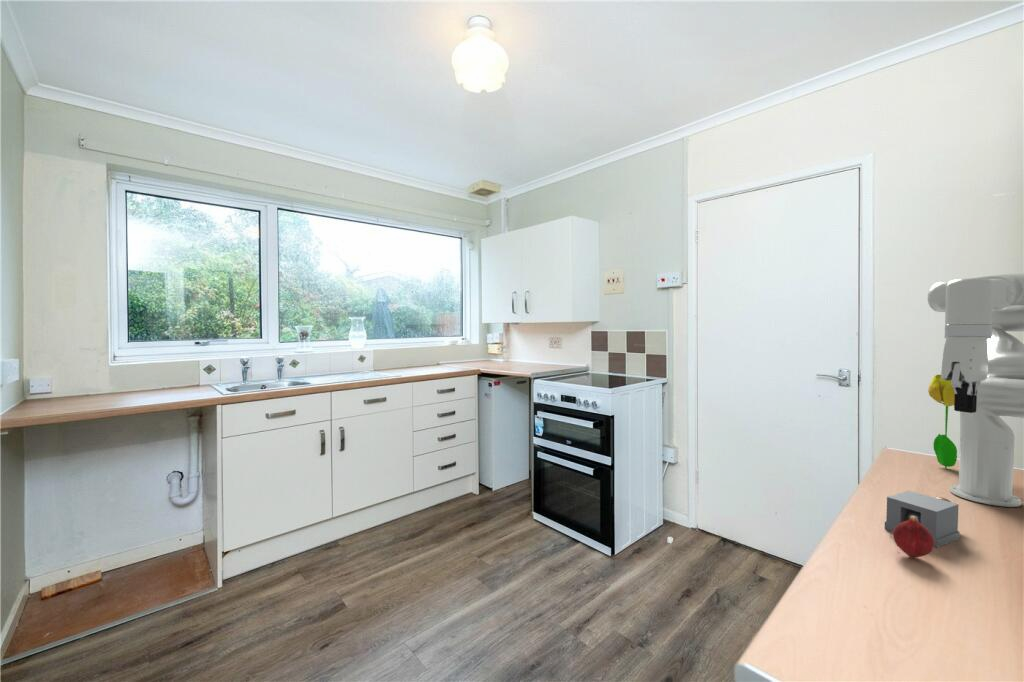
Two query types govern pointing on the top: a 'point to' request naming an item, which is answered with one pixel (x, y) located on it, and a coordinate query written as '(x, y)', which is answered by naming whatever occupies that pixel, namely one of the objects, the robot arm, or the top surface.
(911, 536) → the onion
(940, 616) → the top surface
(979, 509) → the top surface
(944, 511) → the housing
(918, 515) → the shaft
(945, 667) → the top surface
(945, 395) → the flower
